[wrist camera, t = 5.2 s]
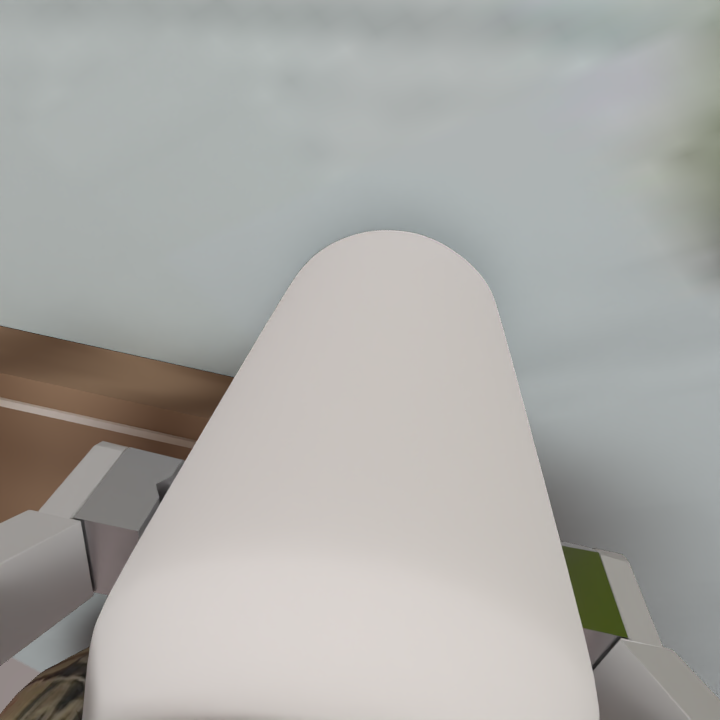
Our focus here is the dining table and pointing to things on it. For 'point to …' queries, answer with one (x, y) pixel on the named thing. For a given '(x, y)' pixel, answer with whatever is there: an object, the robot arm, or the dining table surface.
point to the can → (355, 522)
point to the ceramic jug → (52, 693)
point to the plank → (88, 410)
